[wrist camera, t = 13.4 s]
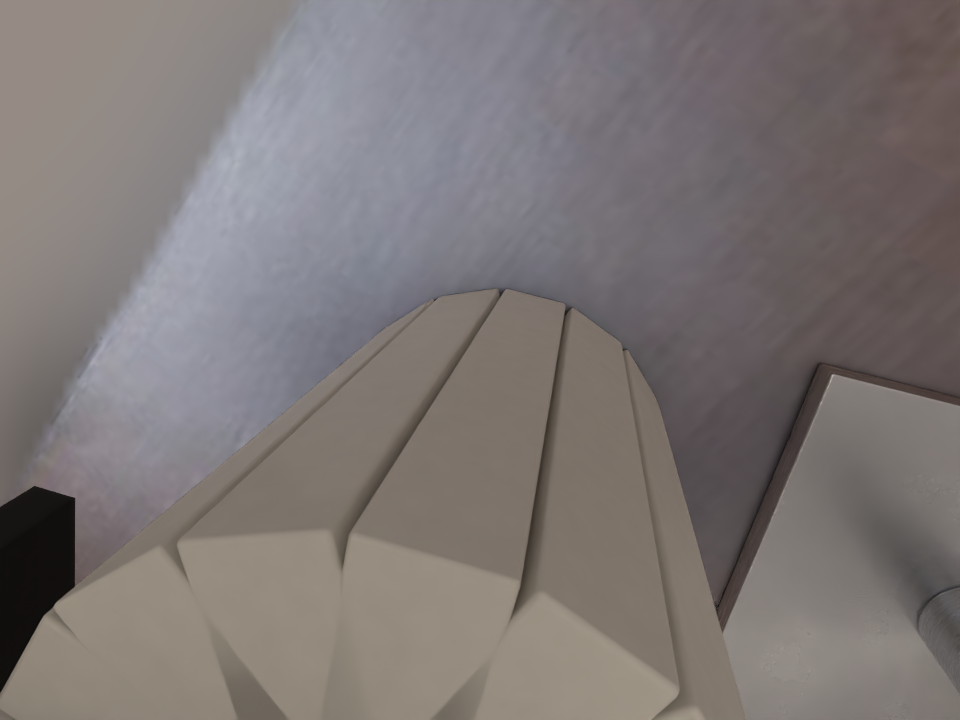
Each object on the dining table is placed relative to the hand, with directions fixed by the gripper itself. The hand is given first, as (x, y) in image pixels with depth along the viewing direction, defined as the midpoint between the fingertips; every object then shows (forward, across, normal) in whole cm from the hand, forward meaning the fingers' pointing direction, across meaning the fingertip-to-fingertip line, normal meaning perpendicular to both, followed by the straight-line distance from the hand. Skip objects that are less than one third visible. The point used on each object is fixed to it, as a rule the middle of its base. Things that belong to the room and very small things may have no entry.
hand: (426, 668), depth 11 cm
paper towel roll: (+10, 0, -1) cm, 10 cm away
